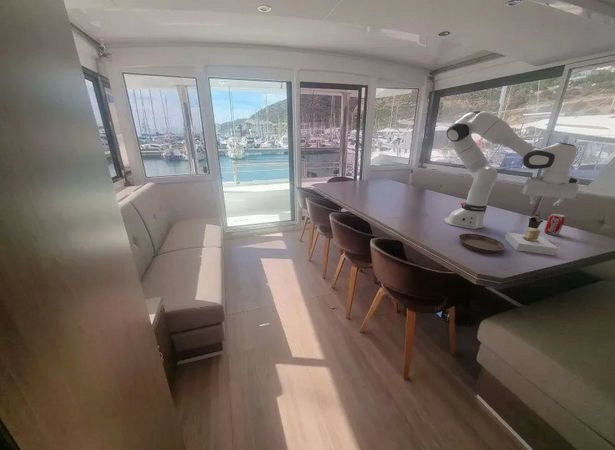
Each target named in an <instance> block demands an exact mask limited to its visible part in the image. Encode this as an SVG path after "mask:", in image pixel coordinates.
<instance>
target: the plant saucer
mask: <svg viewBox="0 0 615 450" xmlns="http://www.w3.org/2000/svg"><path fill="white" fill-rule="evenodd" d="M458 239H459V241H460V242H461V244H462V245H463V246H464V247H465V248H467V249H470V250H472V249H473V251H475V250H476V252H480V253H485V254H495V253H499V252H501V251H502V250H504V249H505V244H504V243H502V241H499V240H497V239H496V238H493V237H490V236H486V235H483V234H478V233H460V234H459V235H458Z"/></svg>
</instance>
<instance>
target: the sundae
mask: <svg viewBox="0 0 615 450" xmlns="http://www.w3.org/2000/svg"><path fill="white" fill-rule="evenodd" d="M539 213H540V211H538V213H535V214H534V215H532V216H530V217H529V218H528V227H529V228H537V229H538V228H539V227H540V225H541V223H543V222H544V220H543V219H542V218H541V217H540V214H539ZM528 227H527V228H528Z"/></svg>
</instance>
